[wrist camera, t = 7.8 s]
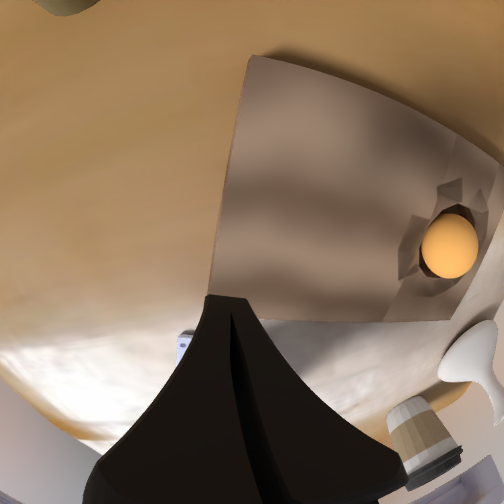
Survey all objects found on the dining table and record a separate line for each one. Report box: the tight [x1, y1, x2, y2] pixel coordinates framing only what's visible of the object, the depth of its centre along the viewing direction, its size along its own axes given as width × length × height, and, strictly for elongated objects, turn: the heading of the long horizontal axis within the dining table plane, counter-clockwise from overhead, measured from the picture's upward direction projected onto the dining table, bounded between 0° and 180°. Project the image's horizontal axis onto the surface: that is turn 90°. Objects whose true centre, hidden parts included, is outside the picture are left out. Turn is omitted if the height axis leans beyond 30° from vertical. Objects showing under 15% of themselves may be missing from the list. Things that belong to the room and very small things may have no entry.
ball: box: [421, 213, 478, 278], centre depth 18 cm, size 5×5×5 cm
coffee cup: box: [386, 396, 463, 491], centre depth 31 cm, size 11×11×15 cm
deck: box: [207, 55, 504, 322], centre depth 18 cm, size 16×24×2 cm, turn 79°
